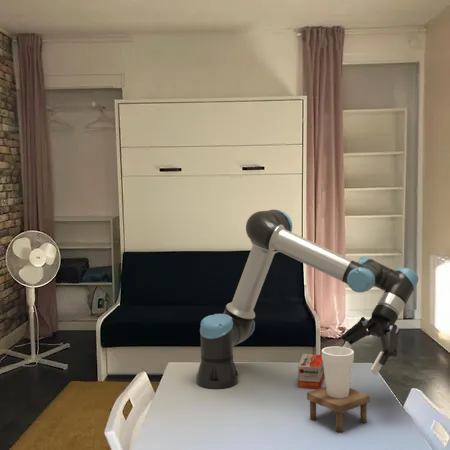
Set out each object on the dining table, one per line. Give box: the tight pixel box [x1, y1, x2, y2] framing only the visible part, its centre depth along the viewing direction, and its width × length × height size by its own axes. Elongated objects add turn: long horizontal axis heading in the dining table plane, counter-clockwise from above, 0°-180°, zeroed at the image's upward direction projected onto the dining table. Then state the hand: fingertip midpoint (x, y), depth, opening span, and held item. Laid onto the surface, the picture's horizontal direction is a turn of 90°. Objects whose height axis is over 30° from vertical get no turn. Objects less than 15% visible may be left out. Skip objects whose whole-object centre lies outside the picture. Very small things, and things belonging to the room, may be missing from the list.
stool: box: [306, 386, 371, 433], centre depth 161 cm, size 13×13×8 cm
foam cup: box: [321, 345, 355, 398], centre depth 160 cm, size 10×9×13 cm
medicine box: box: [297, 353, 325, 390], centre depth 194 cm, size 15×8×8 cm, turn 165°
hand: (355, 366), depth 164 cm, fingers open, 13 cm apart
